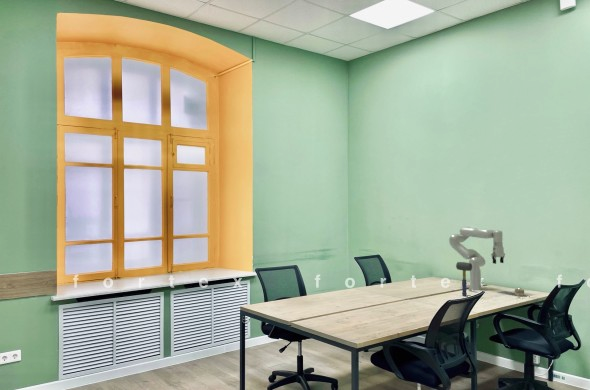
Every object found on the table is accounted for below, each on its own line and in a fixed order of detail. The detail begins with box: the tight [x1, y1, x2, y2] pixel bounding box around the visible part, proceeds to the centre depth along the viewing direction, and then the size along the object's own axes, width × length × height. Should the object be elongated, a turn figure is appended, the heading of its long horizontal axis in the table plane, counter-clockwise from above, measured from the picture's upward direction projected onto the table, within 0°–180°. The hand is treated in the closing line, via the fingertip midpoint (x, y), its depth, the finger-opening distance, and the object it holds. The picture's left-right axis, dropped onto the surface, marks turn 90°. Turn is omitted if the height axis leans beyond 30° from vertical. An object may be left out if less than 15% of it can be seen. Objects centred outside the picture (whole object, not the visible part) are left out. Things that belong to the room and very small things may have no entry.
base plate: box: [497, 290, 529, 298], centre depth 399 cm, size 24×12×2 cm, turn 27°
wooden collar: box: [514, 288, 525, 297], centre depth 393 cm, size 8×7×5 cm
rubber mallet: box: [455, 261, 472, 297], centre depth 398 cm, size 12×8×30 cm, turn 41°
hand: (498, 263), depth 404 cm, fingers open, 9 cm apart
